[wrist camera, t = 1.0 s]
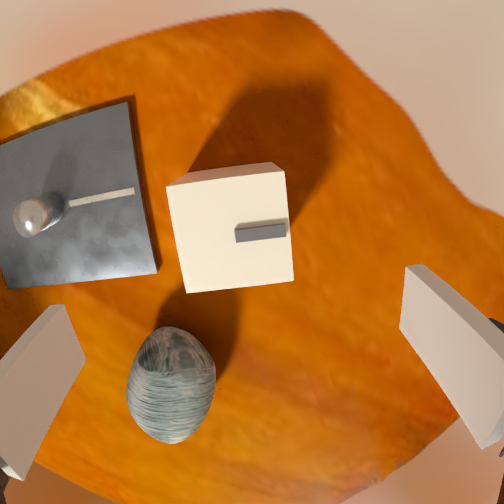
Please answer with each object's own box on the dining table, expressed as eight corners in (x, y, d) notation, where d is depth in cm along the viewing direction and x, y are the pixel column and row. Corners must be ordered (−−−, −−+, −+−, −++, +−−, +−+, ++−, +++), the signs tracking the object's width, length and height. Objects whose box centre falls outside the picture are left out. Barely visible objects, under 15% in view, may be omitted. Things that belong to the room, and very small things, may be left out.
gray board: (11, 286, 31) (-13, 306, 26) (-20, 156, 25) (-51, 162, 20) (159, 269, 31) (145, 294, 26) (130, 102, 25) (107, 96, 20)
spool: (123, 311, 28) (145, 409, 22) (214, 310, 33) (251, 393, 27) (114, 381, 35) (132, 455, 29) (184, 376, 40) (209, 443, 34)
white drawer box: (199, 251, 30) (185, 295, 22) (187, 172, 28) (164, 187, 19) (279, 242, 30) (294, 283, 22) (271, 161, 28) (285, 171, 19)
